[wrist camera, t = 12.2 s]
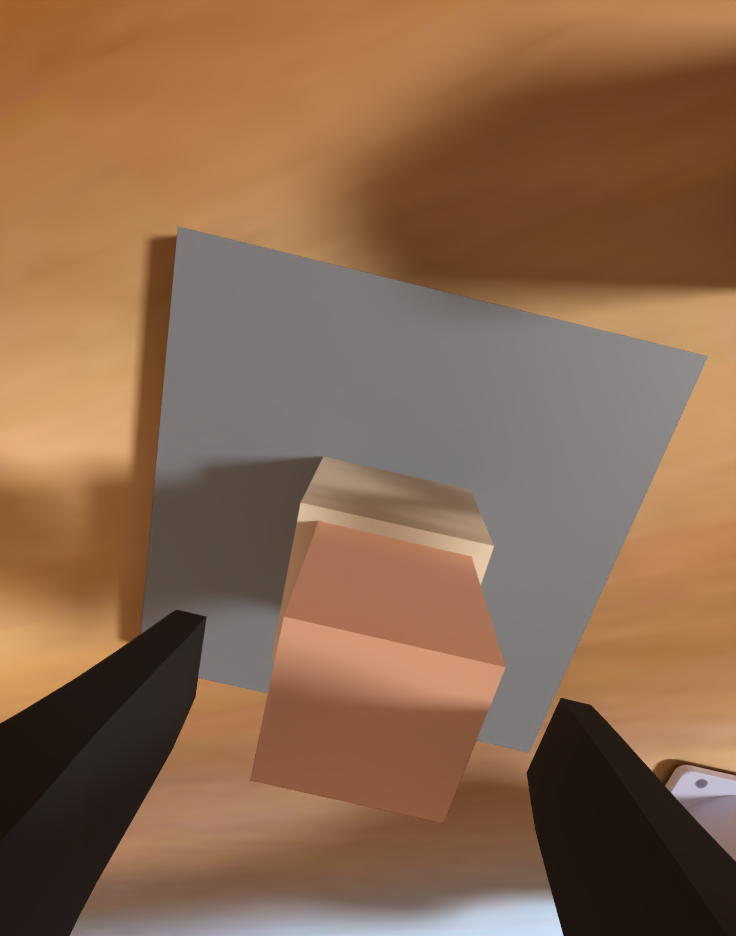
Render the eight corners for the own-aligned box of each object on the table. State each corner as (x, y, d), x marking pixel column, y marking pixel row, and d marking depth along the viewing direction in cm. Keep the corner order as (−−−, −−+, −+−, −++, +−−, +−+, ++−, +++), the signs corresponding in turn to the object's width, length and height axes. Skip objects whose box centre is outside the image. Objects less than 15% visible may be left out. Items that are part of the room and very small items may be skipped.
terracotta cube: (471, 556, 12) (505, 667, 8) (429, 679, 13) (443, 823, 10) (318, 520, 12) (283, 616, 8) (291, 647, 13) (249, 780, 10)
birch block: (470, 489, 16) (494, 545, 12) (431, 614, 17) (441, 698, 14) (323, 456, 16) (300, 502, 12) (298, 584, 17) (270, 661, 14)
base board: (679, 351, 16) (707, 356, 14) (520, 722, 21) (529, 752, 19) (198, 234, 15) (177, 226, 14) (156, 639, 20) (137, 664, 19)
